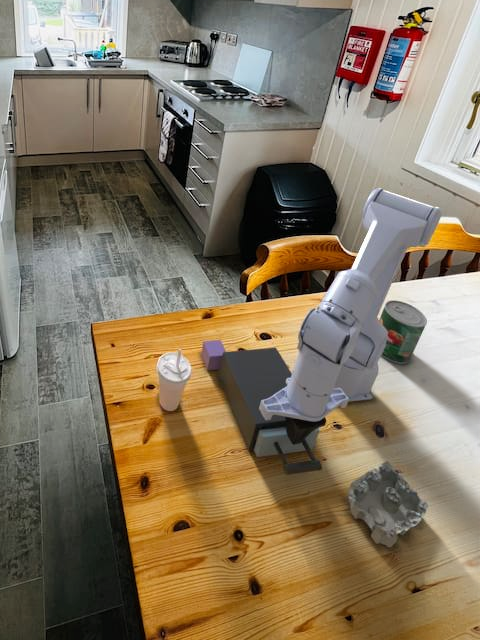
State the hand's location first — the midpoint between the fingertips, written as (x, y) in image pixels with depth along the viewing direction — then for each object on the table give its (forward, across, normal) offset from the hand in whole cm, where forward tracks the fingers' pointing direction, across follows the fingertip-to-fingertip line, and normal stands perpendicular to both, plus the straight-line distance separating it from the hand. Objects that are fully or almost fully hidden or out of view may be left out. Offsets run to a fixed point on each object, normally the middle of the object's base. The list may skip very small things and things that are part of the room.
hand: (292, 438), depth 66 cm
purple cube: (+6, +4, -21) cm, 22 cm away
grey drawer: (+5, 0, -5) cm, 7 cm away
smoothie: (+6, +17, -14) cm, 22 cm away
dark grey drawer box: (+6, -1, -10) cm, 11 cm away
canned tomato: (+5, -39, -18) cm, 43 cm away
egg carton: (+6, -11, +9) cm, 16 cm away
